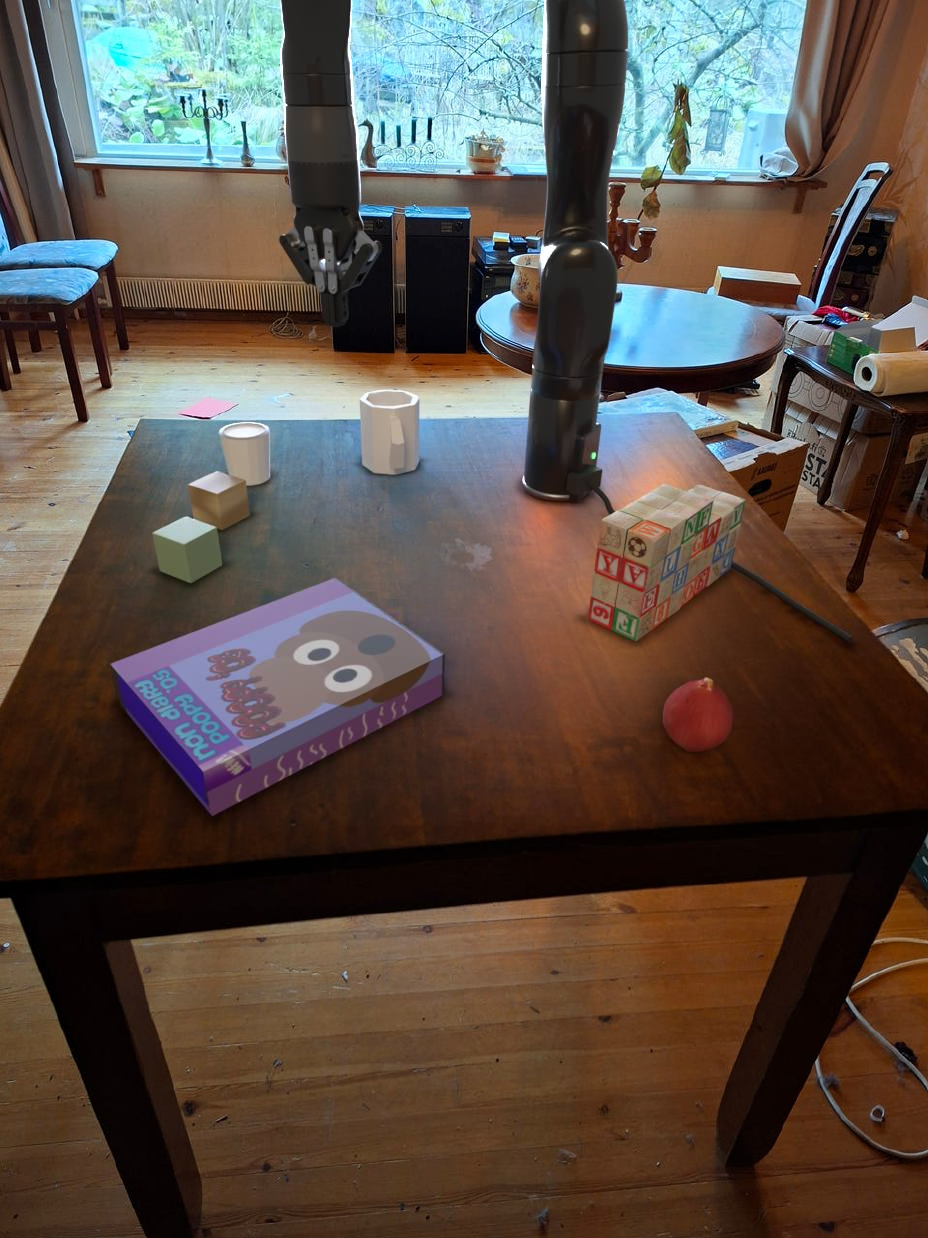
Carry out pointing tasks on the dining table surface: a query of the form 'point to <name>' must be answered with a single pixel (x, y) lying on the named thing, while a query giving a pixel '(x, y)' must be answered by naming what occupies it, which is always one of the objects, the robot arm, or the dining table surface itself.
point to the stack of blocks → (661, 555)
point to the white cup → (247, 451)
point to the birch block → (219, 500)
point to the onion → (698, 716)
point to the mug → (389, 431)
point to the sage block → (187, 549)
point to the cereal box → (275, 689)
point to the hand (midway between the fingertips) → (335, 324)
